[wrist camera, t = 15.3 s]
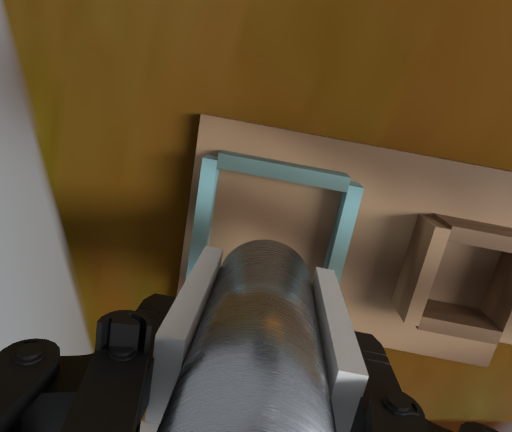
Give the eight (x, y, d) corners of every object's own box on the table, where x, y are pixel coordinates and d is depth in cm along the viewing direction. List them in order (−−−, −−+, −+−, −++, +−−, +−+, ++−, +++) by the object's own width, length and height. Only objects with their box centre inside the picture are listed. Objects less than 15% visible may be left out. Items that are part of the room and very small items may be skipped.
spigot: (225, 231, 16) (121, 454, 6) (319, 248, 16) (390, 505, 6) (212, 315, 17) (106, 630, 7) (300, 331, 17) (330, 676, 7)
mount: (204, 113, 22) (190, 114, 19) (551, 178, 22) (601, 191, 18) (179, 299, 25) (163, 328, 22) (479, 357, 25) (510, 396, 22)
